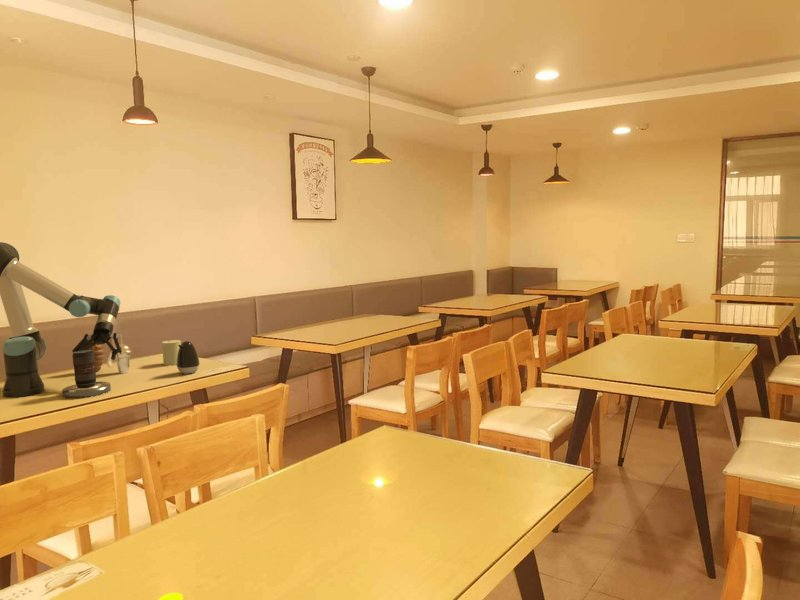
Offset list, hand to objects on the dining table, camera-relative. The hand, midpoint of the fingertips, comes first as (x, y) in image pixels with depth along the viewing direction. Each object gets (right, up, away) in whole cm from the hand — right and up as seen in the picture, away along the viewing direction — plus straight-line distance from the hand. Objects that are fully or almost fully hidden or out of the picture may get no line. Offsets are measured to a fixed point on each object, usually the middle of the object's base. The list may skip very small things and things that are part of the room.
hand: (92, 366), depth 253 cm
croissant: (-17, -7, +37) cm, 42 cm away
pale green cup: (+15, -4, +50) cm, 53 cm away
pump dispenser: (+31, -6, +27) cm, 42 cm away
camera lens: (0, -8, -4) cm, 9 cm away
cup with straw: (-2, -7, +33) cm, 34 cm away
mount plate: (0, -10, -4) cm, 11 cm away
